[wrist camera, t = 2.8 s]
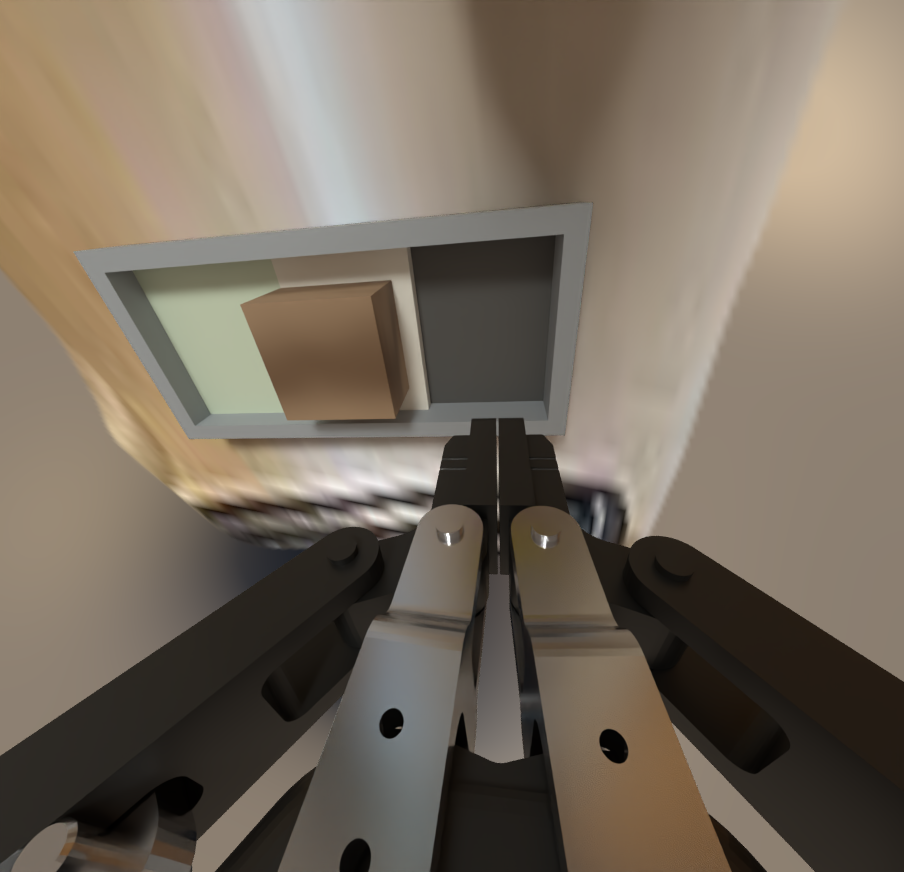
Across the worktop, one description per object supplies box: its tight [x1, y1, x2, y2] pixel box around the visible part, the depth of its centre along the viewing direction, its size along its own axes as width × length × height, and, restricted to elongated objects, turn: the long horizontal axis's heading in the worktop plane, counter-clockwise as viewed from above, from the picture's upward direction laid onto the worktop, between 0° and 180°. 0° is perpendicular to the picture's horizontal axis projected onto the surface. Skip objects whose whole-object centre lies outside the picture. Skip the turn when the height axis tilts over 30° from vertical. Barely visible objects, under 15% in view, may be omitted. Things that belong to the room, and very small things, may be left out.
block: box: [240, 280, 409, 421], centre depth 18 cm, size 6×6×4 cm
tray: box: [74, 202, 593, 439], centre depth 19 cm, size 11×24×2 cm, turn 95°
